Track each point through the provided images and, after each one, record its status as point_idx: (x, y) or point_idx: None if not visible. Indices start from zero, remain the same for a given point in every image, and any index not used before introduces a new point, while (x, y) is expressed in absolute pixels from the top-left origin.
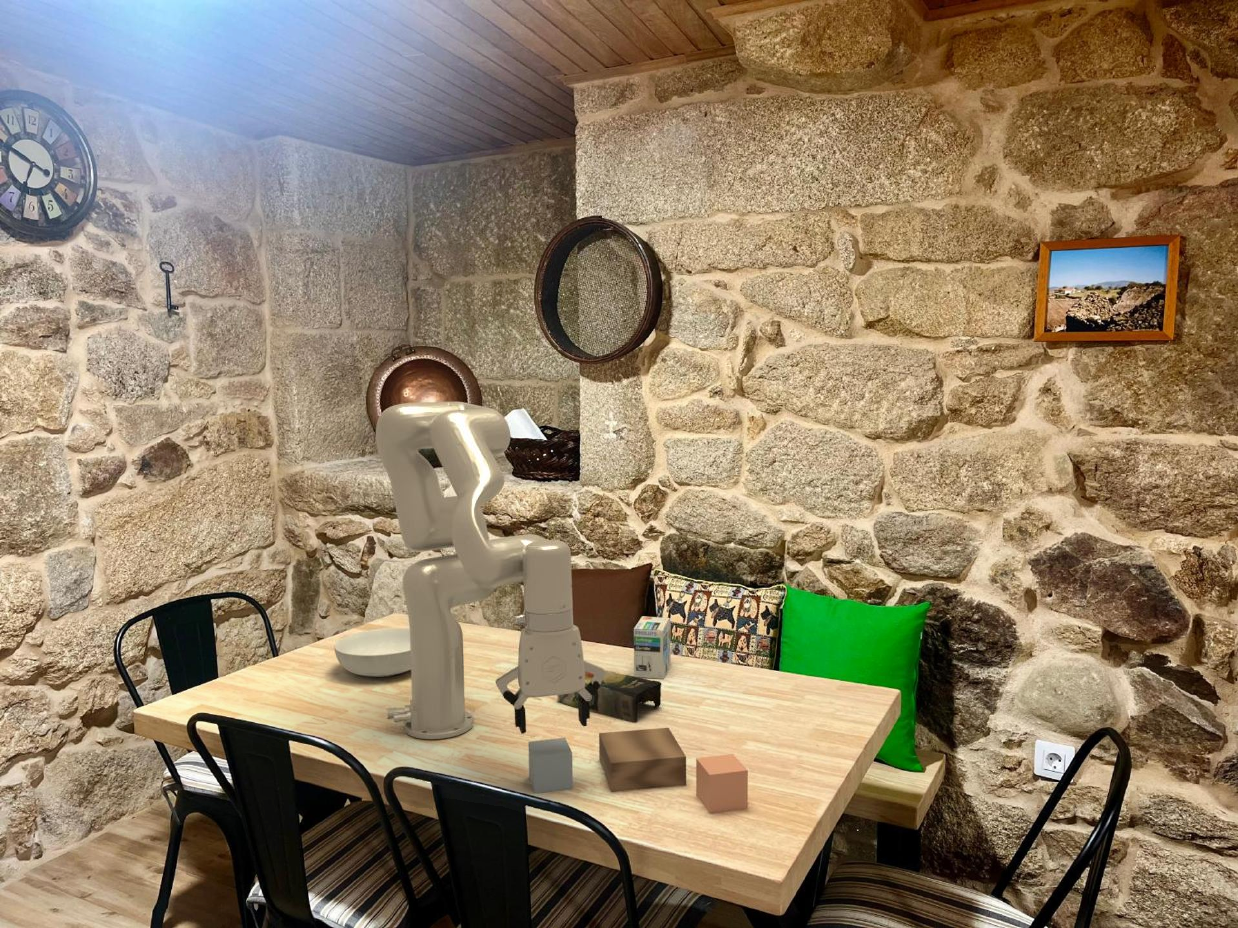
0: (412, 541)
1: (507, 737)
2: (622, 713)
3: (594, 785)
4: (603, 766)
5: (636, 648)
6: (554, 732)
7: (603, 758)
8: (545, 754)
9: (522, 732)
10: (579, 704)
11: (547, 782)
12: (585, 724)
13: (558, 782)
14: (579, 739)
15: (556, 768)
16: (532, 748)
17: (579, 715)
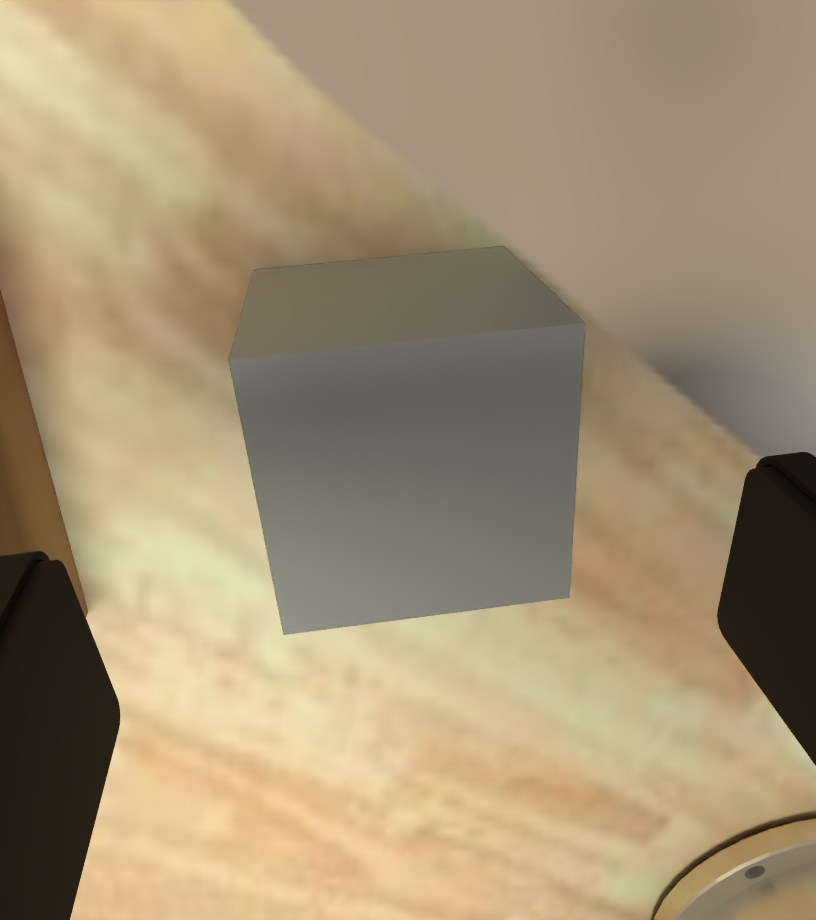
0: None
1: (539, 824)
2: None
3: (103, 294)
4: (43, 496)
5: None
6: (324, 857)
7: (23, 524)
8: (478, 357)
9: (798, 455)
10: (33, 864)
11: (430, 268)
12: (8, 561)
13: (351, 275)
14: (204, 801)
15: (371, 303)
16: (563, 485)
17: (88, 728)
